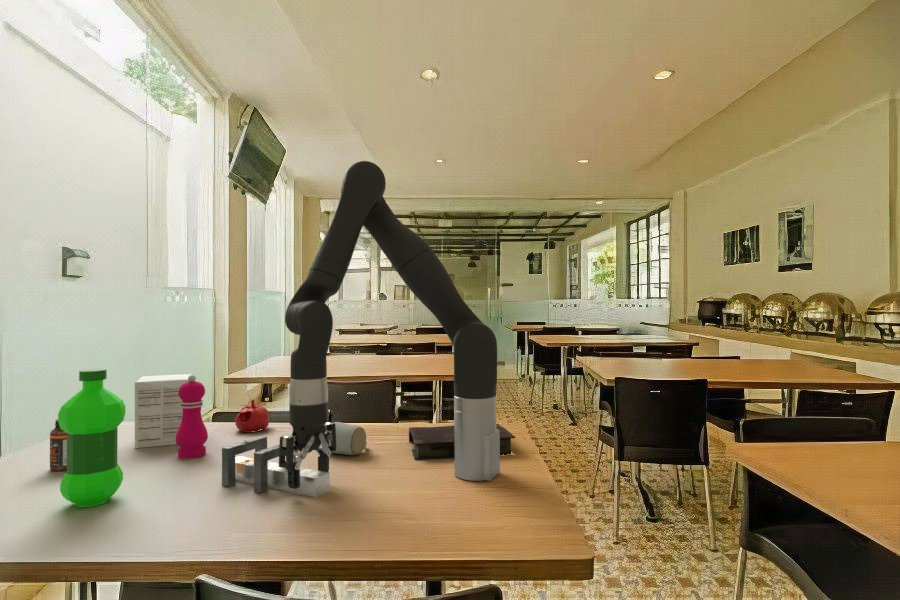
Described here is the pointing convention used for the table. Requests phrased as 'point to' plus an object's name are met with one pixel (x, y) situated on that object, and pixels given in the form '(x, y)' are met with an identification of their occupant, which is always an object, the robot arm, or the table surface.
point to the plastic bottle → (91, 441)
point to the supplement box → (158, 409)
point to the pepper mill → (191, 421)
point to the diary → (445, 442)
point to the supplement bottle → (58, 448)
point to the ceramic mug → (349, 439)
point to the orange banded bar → (284, 477)
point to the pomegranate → (252, 418)
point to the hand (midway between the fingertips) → (309, 481)
